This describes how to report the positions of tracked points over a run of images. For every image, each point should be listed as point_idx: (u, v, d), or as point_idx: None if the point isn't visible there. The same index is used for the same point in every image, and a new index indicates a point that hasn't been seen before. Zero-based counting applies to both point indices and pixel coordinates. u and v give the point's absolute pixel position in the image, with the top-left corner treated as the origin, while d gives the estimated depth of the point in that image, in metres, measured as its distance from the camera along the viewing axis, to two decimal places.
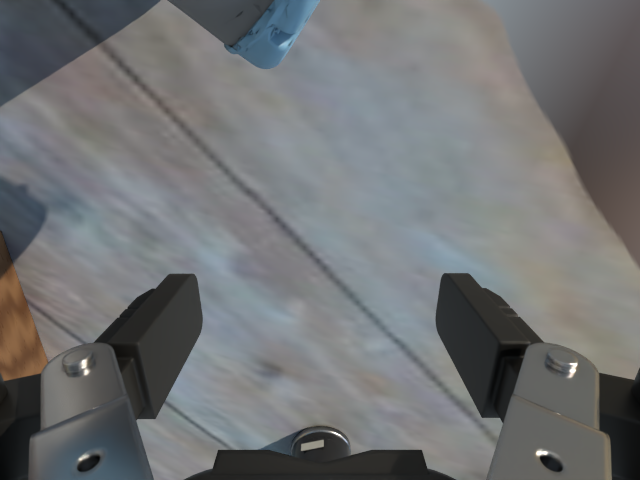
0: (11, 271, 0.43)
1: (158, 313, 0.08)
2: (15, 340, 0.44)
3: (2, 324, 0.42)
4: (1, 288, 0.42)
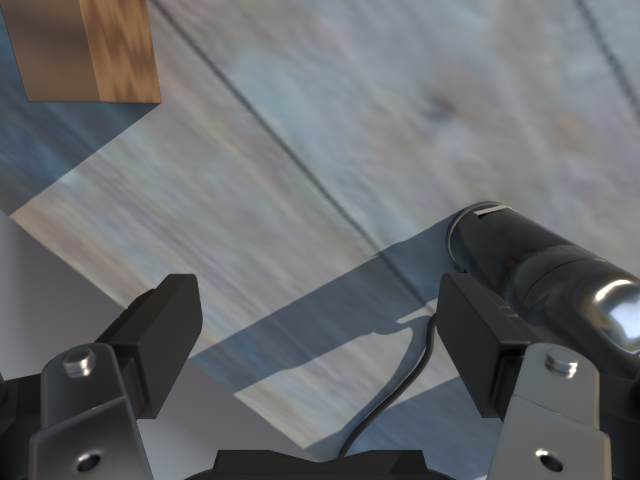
0: None
1: (158, 313, 0.08)
2: (135, 24, 0.33)
3: None
4: None
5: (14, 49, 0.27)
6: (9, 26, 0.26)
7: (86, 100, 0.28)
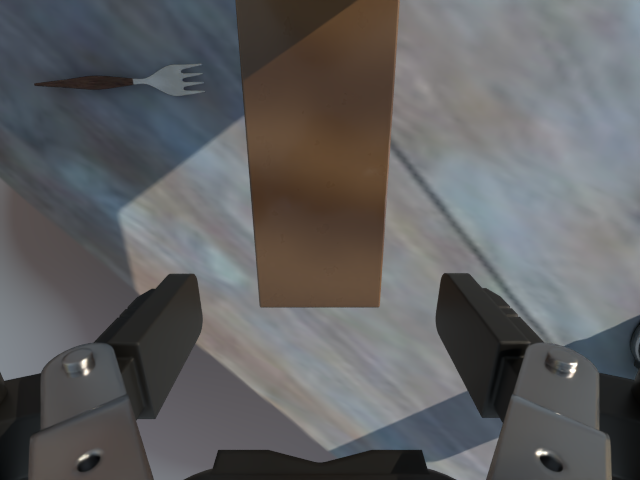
0: None
1: (158, 313, 0.08)
2: None
3: None
4: None
5: (257, 238, 0.16)
6: (258, 206, 0.15)
7: (355, 305, 0.17)
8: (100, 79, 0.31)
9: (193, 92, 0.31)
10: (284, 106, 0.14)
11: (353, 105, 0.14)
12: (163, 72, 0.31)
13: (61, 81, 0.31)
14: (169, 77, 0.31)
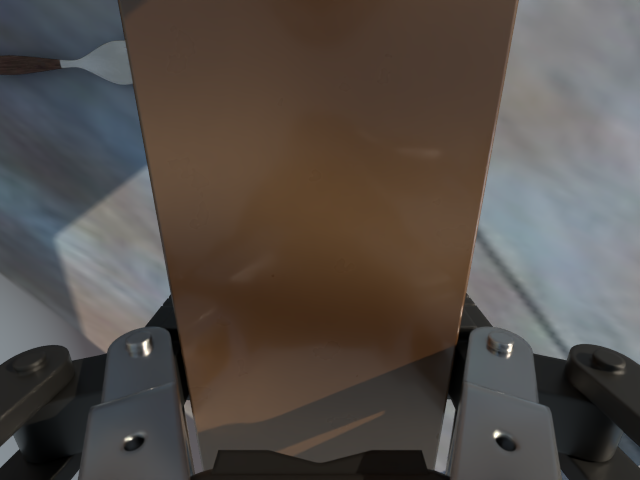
0: None
1: None
2: None
3: None
4: None
5: (189, 366, 0.08)
6: (186, 308, 0.07)
7: None
8: (14, 60, 0.22)
9: None
10: (234, 87, 0.06)
11: (406, 86, 0.06)
12: (102, 51, 0.22)
13: None
14: (111, 58, 0.23)
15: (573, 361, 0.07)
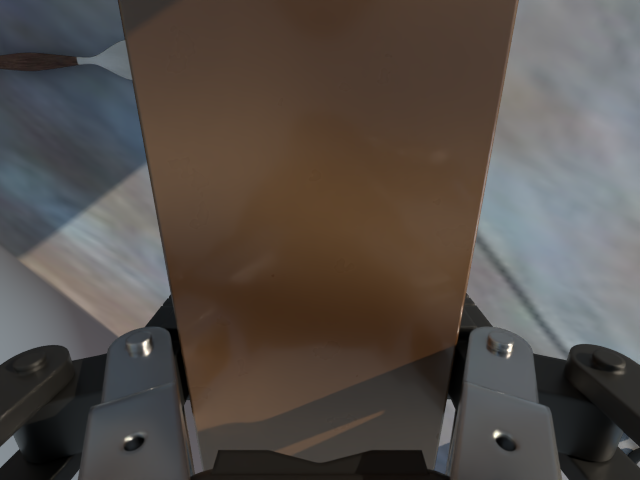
0: None
1: None
2: None
3: None
4: None
5: (190, 366, 0.08)
6: (186, 308, 0.07)
7: None
8: (34, 57, 0.24)
9: None
10: (234, 86, 0.06)
11: (406, 86, 0.06)
12: (116, 49, 0.24)
13: None
14: (124, 56, 0.24)
15: (573, 361, 0.07)
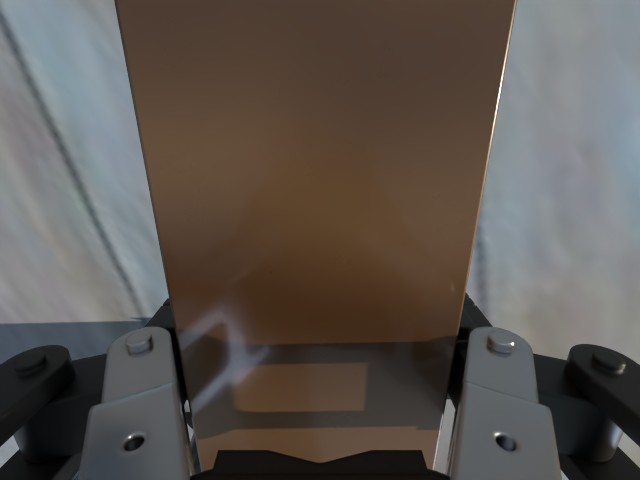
0: None
1: None
2: None
3: None
4: None
5: (187, 364, 0.08)
6: (183, 305, 0.07)
7: None
8: None
9: None
10: (231, 80, 0.06)
11: (404, 80, 0.05)
12: None
13: None
14: None
15: (573, 361, 0.07)
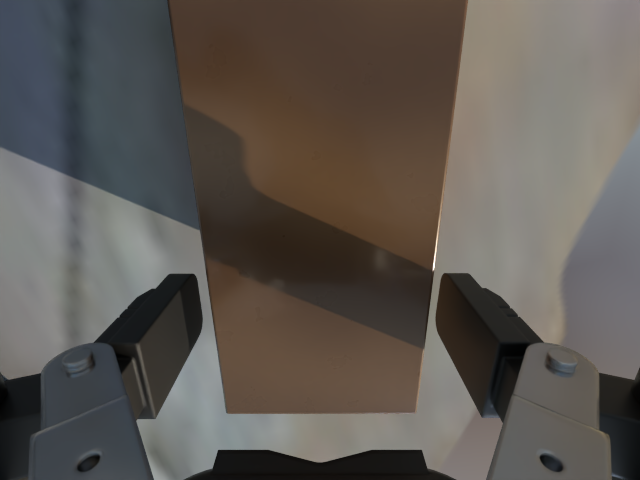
0: None
1: (158, 313, 0.08)
2: None
3: None
4: None
5: (216, 313, 0.10)
6: (215, 263, 0.09)
7: (377, 411, 0.11)
8: None
9: None
10: (255, 88, 0.07)
11: (383, 86, 0.07)
12: None
13: None
14: None
15: None
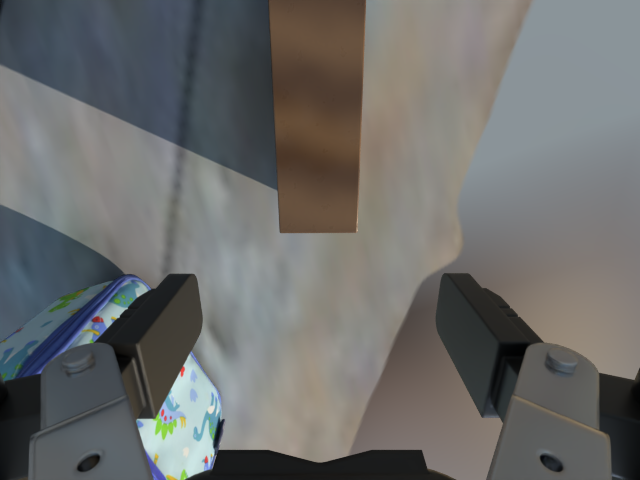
0: None
1: (159, 313, 0.08)
2: None
3: None
4: None
5: (279, 185, 0.25)
6: (280, 164, 0.25)
7: (341, 231, 0.27)
8: None
9: None
10: (297, 102, 0.23)
11: (338, 102, 0.23)
12: None
13: None
14: None
15: None
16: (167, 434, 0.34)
